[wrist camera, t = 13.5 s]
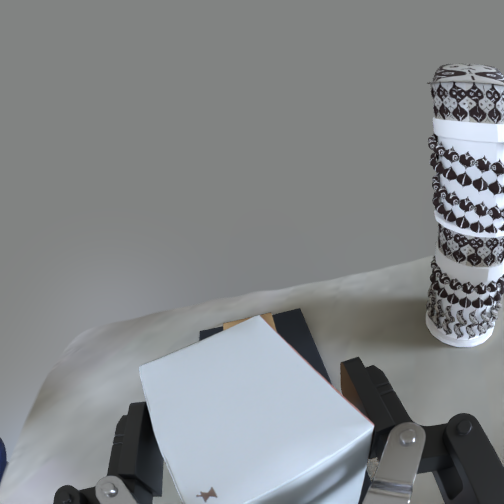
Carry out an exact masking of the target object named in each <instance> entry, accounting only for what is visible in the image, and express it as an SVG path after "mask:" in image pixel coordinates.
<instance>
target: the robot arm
mask: <svg viewBox="0 0 504 504" xmlns="http://www.w3.org/2000/svg"><path fill="white" fill-rule="evenodd" d="M340 369H341V390H342V394H343V396H344V397H345V398H346V399H347V400H348V401H349V402H350V403H352V404H353V405H354V406H355V407H356V408H357V409H358V410H359V411H360V412H361V413H363V414H364V415H365V416H366V417H367V418H368V419H369V420H370V421H371V422H372V423H373V424H374V430H373V436H372V441H371V447H370V452H369V459H373V458H375V457H377V458H378V461H379V465H378V468H377V470H376V473H375V475H374V478H373V480H372V482H371V484H370V487H369V489H368V491H367V494H366V496H365V498H364V500H363V503H362V504H409V501H410V498H411V495H412V487H413V483H414V480H415V477H416V474H419V473H426V472H432V473H433V475H434V477H435V480H436V482H437V485H438V487H439V490H440V492H441V495H442V497H443V500H444V502H445V504H504V467H503V465H502V463H501V461H500V459H499V457H498V456H497V454H496V452H495V450H494V448H493V446H492V445H491V443H490V441H489V439H488V437H487V436H486V434H485V432H484V430H483V429H482V427H481V425H480V424H479V422H478V420H477V419H476V418H475V417H474V416H472V415H470V414H467V413H461V414H457V415H455V416H454V417H452V418H451V419H450V420H449V422H448V423H447V424H441V425H435V426H421V425H418V424H416V423H415V422H413V421H412V420H411V419H410V417H409V416H408V414H407V412H406V410H405V409H404V407H403V405H402V403H401V402H400V400H399V398H398V396H397V395H396V393H395V391H393V388H392V386H391V384H390V383H389V381H388V379H387V378H386V376H385V374H384V373H383V371H381V370H380V369H378V368H377V367H376V366H374V365H372V366H369V367H366V368H365V367H364V365H363V363H362V361H361V359H360V358H359V357H356V358H353V359H350V360H347V361H344V362H341V364H340ZM113 444H114V445H113V446H112V451H111V457H110V462H109V468H108V473H107V476H106V477H103V478H102V479H100V480H99V482H98V483H97V485H96V486H95V487H91V488H87V489H83V490H77V489H76V488H74V487H73V486H70V485H65V486H62V487H60V488H59V489H58V490H57V492H56V493H55V497H54V503H53V504H153V503H152V500H153V497H162V478H163V461H164V458H163V456H162V454H161V452H160V449H159V446H158V443H157V440H156V437H155V434H154V431H153V427H152V422H151V418H150V414H149V410H148V406H147V403H146V402H137V403H131V404H130V406H129V410H128V415H123V416H122V418H121V419H120V421H119V422H118V424H117V426H116V431H115V437H114V441H113Z"/></svg>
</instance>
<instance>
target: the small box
mask: <svg viewBox="0 0 504 504" xmlns="http://www.w3.org/2000/svg"><path fill="white" fill-rule="evenodd" d="M139 373H140V378H141V382H142V387H143V391H144V395H145V399H146V403H147V406H148V410H149V414H150V418H151V422H152V427H153V431H154V434H155V437H156V440H157V443H158V446H159V449H160V452H161V454H162V456H163V458H164V460H165V462H166V465H167V467H168V470H169V472H170V475H171V477H172V479H173V482H174V485H175V487H176V490H177V492H178V494H179V496H180V499H181V501H182V503H183V504H358V502H359V498H360V494H361V490H362V486H363V481H364V477H365V472H366V467H367V462H368V458H369V452H370V447H371V441H372V436H373V430H374V424H373V423H372V422H371V421H370V420H369V419H368V418H367V417H366V416H365V415H364V414H363V413H361V412H360V411H359V410H358V409H357V408H356V407H355V406H354V405H353V404H352V403H350V402H349V401H348V400H347V399H346V398H345V397H344V396H343V395H342V394H341V393H340V392H339V391H338V390H337V389H335V388H334V387H333V386H332V385H331V384H330V383H329V382H328V381H327V380H326V379H325V378H324V377H323V376H322V375H321V374H320V373H318V372H317V371H316V370H315V369H314V368H313V367H312V366H311V365H310V364H309V363H308V362H307V361H306V360H305V359H304V358H303V357H302V356H301V355H300V354H299V353H298V352H297V351H296V350H295V349H294V348H293V347H292V346H291V345H290V344H288V343H287V342H286V341H285V340H284V339H283V338H282V337H281V336H280V335H279V334H278V333H277V332H276V331H275V330H274V329H273V328H272V327H271V326H270V325H269V324H268V323H267V322H266V321H265V320H264V319H263V318H262V317H261V316H260V315H257V316H254V317H252V318H250V319H248V320H246V321H243V322H241V323H239V324H237V325H235V326H233V327H230V328H228V329H226V330H224V331H221V332H219V333H217V334H215V335H212V336H210V337H208V338H205V339H203V340H201V341H199V342H196V343H194V344H192V345H189V346H187V347H185V348H182V349H180V350H177V351H175V352H173V353H170V354H168V355H165V356H163V357H161V358H158V359H156V360H153V361H151V362H148V363H145V364H143V365H141V366H140V368H139Z"/></svg>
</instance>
